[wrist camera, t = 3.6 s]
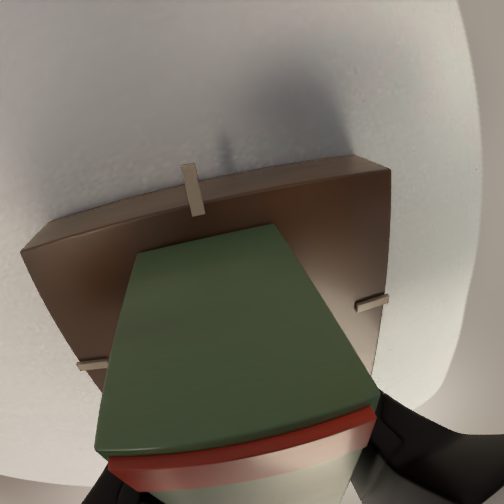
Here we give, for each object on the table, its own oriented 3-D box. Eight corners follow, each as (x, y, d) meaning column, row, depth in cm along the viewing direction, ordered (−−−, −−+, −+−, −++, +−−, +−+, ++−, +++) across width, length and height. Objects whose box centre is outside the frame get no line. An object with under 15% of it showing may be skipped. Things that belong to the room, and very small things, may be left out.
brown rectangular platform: (355, 126, 10) (396, 135, 8) (352, 356, 16) (371, 390, 14) (36, 196, 9) (1, 223, 7) (141, 404, 15) (139, 442, 13)
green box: (293, 391, 12) (339, 516, 7) (204, 411, 12) (223, 541, 7) (274, 222, 9) (391, 406, 3) (136, 252, 8) (90, 463, 3)
